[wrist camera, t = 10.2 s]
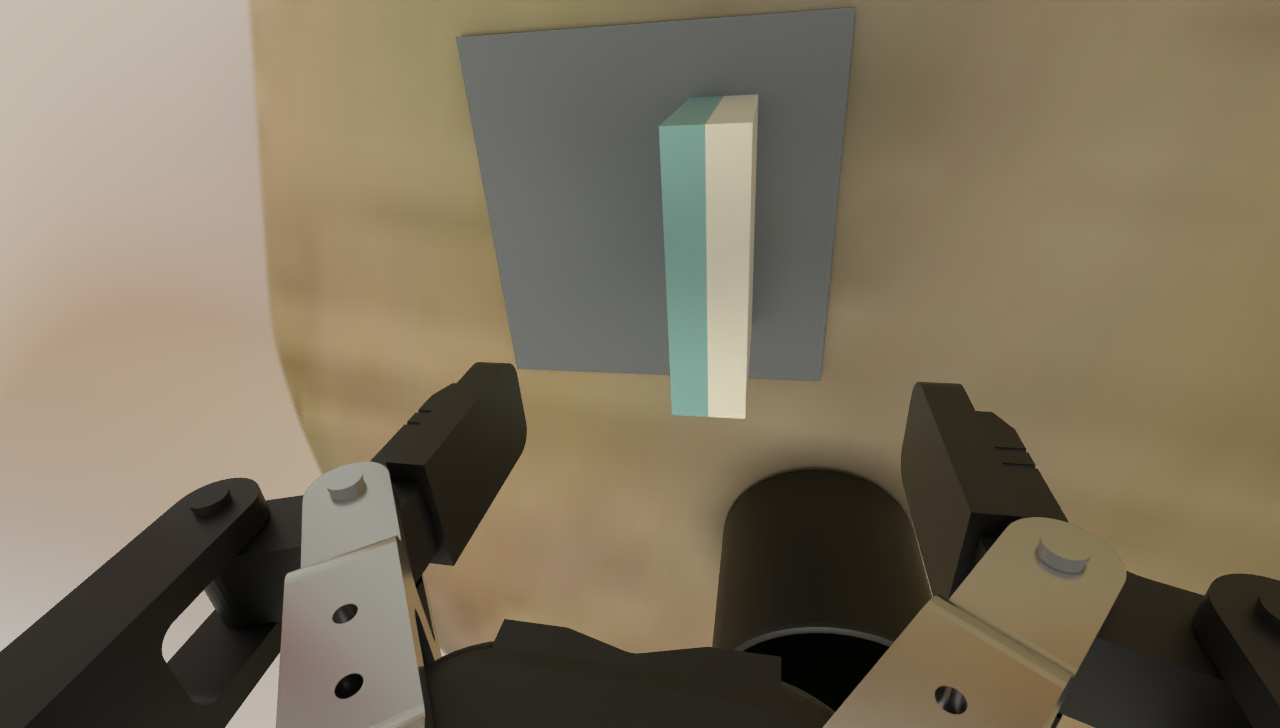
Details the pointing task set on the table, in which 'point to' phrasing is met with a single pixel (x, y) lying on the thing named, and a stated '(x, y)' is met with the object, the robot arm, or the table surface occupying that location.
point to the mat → (654, 179)
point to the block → (709, 251)
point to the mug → (818, 579)
